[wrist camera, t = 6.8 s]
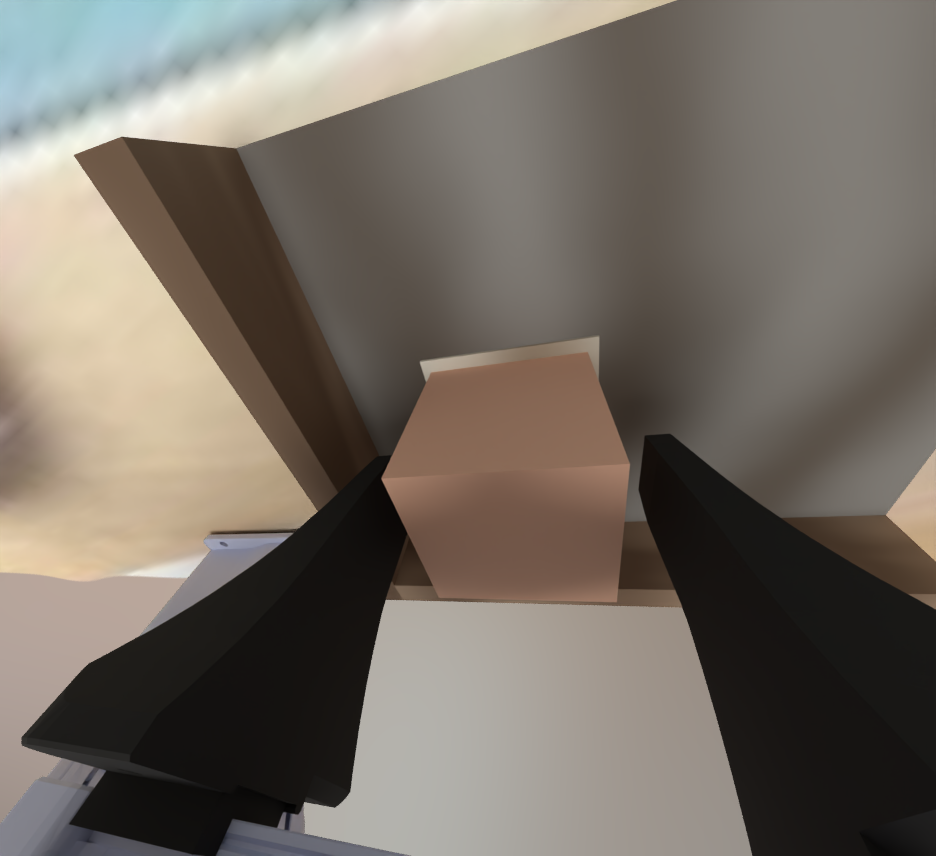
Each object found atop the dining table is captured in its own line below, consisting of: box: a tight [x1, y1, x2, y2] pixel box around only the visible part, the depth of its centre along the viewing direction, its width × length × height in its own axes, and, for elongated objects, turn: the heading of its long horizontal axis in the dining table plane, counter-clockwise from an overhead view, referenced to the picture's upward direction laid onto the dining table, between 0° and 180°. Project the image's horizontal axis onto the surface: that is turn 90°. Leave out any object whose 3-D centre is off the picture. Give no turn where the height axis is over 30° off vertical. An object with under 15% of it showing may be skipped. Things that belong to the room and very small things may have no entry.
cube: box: [381, 352, 630, 602], centre depth 10 cm, size 5×5×5 cm
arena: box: [74, 0, 936, 609], centre depth 10 cm, size 20×16×4 cm
